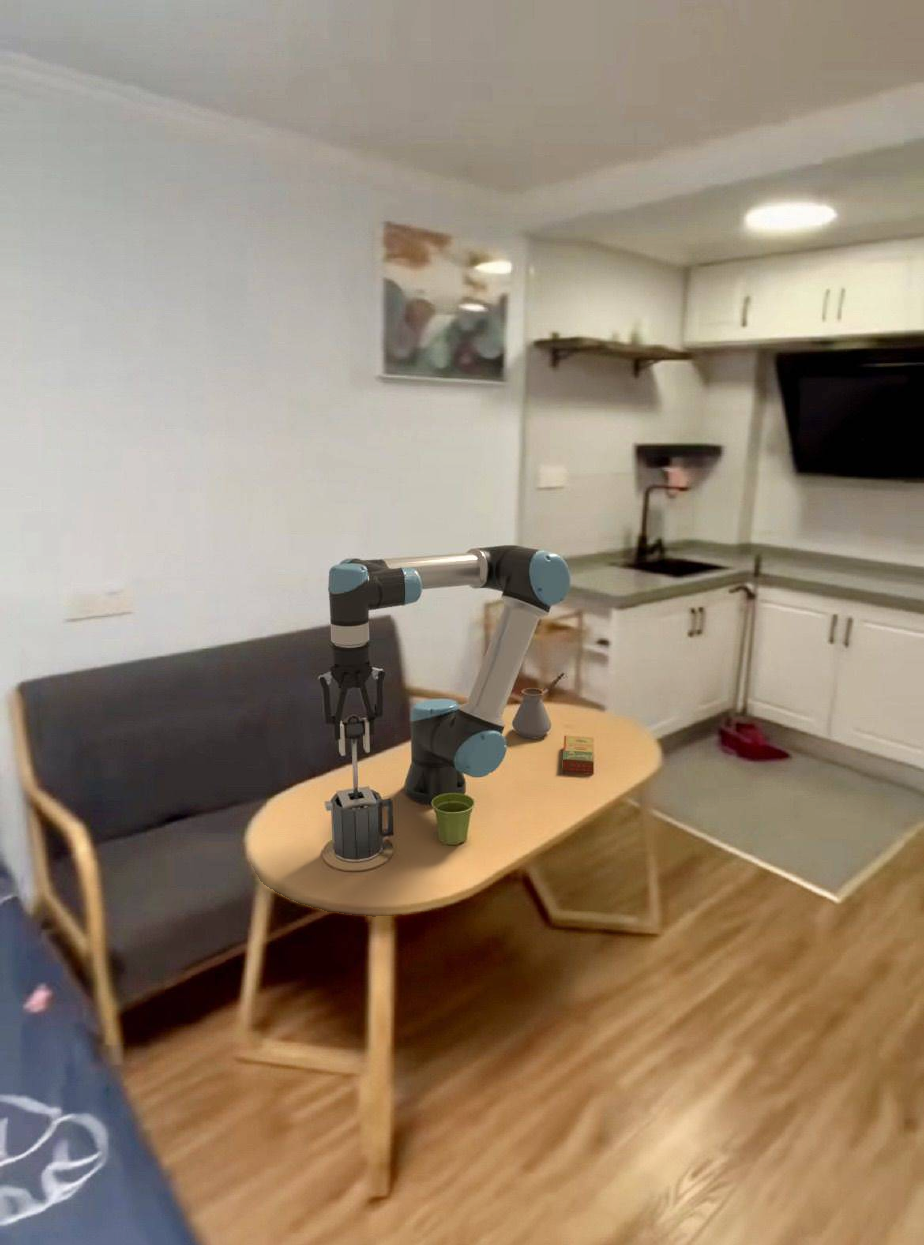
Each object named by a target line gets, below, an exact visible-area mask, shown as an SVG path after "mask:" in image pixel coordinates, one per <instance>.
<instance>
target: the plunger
mask: <svg viewBox="0 0 924 1245" xmlns="http://www.w3.org/2000/svg"><path fill="white" fill-rule="evenodd" d="M362 718H363V717H358V716H357V715H356V714H351V715H348V717H347V718H344V719H343V720H341V721H342V723H343V725H344V737H345V739H347V740H351V758H352V759H351V760H352V762H351V763H352V788H353V791H354V799H350V800H355V799H360V798H359V795H358V788H359V776H358V772H359V770H358V746H357V742H358V741H357V739H361V738H363V736H364V735H365V730H364V719H362ZM369 806H371V805H369ZM369 806H363V807H356V808H350V809H361V808H366V807H369ZM340 807H341V805H340Z"/></svg>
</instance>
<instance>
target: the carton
mask: <svg viewBox="0 0 924 1245" xmlns="http://www.w3.org/2000/svg"><path fill="white" fill-rule="evenodd" d="M594 742H595V740H594V737H591V736H583V735H582V736H580V735H564V736H563V751H562V760H561V762H562V764H561V772H562V773H568V774H582V775H584V774H585V775H594V771H595V767H594V764H595V755H594V749H595V748H594V746H595V744H594Z"/></svg>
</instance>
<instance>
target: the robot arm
mask: <svg viewBox="0 0 924 1245" xmlns="http://www.w3.org/2000/svg"><path fill="white" fill-rule="evenodd" d="M327 586H328V588H327V591H328V600H329V601H328V602H329V616H330V618H329V619H330V640H331V642H332V644H331V667H330V668H329V671H328V672H326V673H324V674H322V673H320V674H318V675H317V680H318V681H319V683H320V688H321V704H322V716H323V720H324V722H325V724H326V725H332V733H333V738H334V739H335V741H338V751H339V754H340V755H341V757H344V756H346V741H345V740H346V738H345V737H344V725H343V723H342V721H343V720H342V715H343V710H344V706H345V700H346V695H347V693H348V690H350V689H352V688H354V689H355V688H356V689H358V693H359V696H360V700H361V703H362V707H363V710H364V713H365V717H361V718H362V719H364V730H365V735H364V736H363V737H362V740H363V741H362V742H363V745H362V746H363V749H364V752H365V753H366V754H367V753H370V752H371V751H370V750H371V749H370V748H371V747H370V736H374V734H375V724H374V722H375V721H376V719H377V718H382V717H383V714H384V712H383V711H384V710H383V708H384V707H383V706H384V705H383V699H384V698H383V695H384V692H383V682H384V680H385V676H386V672H385V671H384V670H383V668H382V667H378V668H377V667H373V665H372V664H371V654H370V653H371V649H370V647H371V646H370V643H369V642H368V641H370V622H369V621H370V619H369V618H370V617H369V616H370V611H374V610H381V609H387V608H394V607H399V606H402V607H404V606H406V605H411V604H413V603H416V602H417V601H419V600H420V598H421V596H422V592H423V590H430V589H431V590H433V589H442V588H451V587H452V588H454V587H463V586H469V587H470V588H472V589H475V590H476V589H489V590H494V591H499V592H502V593H501V597H500V598H501V600H502V602H503V605H504V606H503V609H502V612H501V614H500V616H499V618H498V622H497V624H496V627H495V629H494V632H493V635H492V637H491V639H490V642H489V645H488V648H487V650H486V653H485V655H484V658H483V660H482V663H481V666H480V668H479V670H478V674H477V676H476V678H475V680H474V683H473V685H472V689H471V691H470V694H469V696H468V698H467V701H466V702H465V703H463V704H461V705H459V703H458V702H457V701H456V700H454V699H450V698H449V699H448V698H434V699H427V700H422V701H419V702H417V703H415V704H414V705H413V706H412V707H411V709H410V717H409V718H410V719H409V722H410V753H411V758H410V760H411V763H410V765H409V768H408V770H407V771H408V772H407V774H406V777H405V780H404V792H405V793H404V794H405V795H406V796H407V797H408V798H409V799H411V801H415V802H417V803H421V804H424V805H425V804H428V805H432V804H431V802H432V800H433V799H434V798H435V797H437V796H439V795H442V794H446V793H460V794H465V795H466V791H467V789H466V788H467V787H466V786H467V782H466V778H465V776H464V775H466V776H469V777H471V778H477V779H478V778H485V777H486V776H489V775H490V774H491V773H493V772H495V771H496V770H497V769H498V768H500V766H501V764H502V762H503V761H504V759H505V757H506V754H507V750H508V749H507V748H508V747H507V746H508V745H507V744H506V743H507V741H506V739H505V737H504V735H503V733H504V729H505V727H506V724H505V722H504V720H503V714H504V711H505V708H506V706H507V703H508V701H509V698H510V695H511V693H512V691H513V688H514V686H515V683H516V681H517V678H518V675H519V673H520V670H521V667H522V665H523V662H524V659H525V657H526V655H527V652H528V649H529V646H530V644H531V641H532V639H533V636H534V634H535V632H536V631H535V630H536V628H537V626H538V624H539V620H541V619H542V618H544V617H547V616H548V615H549V613H550V610H551V608H552V606H556V605H559V604H560V603H561V602H563V601H564V599H565V598H566V597H567V595H568V594H569V591H570V587H571V572H570V571H569V566H568V564H567V562H566V561H565V559H563V557H562V556H560V555H559V554H556V553H554V552H550V551H548V550H545V549H537V548H531V547H530V548H529V547H525V546H520V545H517V544H508V545H507V544H506V545H505V544H504V545H497V546H487V547H476V548H470V549H468V550H467V551H466V553H453V554H438V555H436V554H435V555H423V556H422V555H420V556H407V557H392V558H391V557H390V558H380V559H360V558H356V557H349V558H344V559H343V560H341V561H340V563H338V564H335V565H333V566H332V567H330V569H329V571H328V585H327ZM371 674H372V678H373V704H374V705H373V706H374V707H373V708H374V710H373V709H372V705H371V702H370V698H369V695H368V691H367V686H366V685H367V684H366V682H367V680H368V679H369V677H370V676H371ZM332 678H333V679H334V681H335V682H336V683H337V692H336V696H335V697H336V698H335V703H334V706H333V707H334V708H333V713H332V710H331V697H330V696H331V695H330V687H329V685H330V684H332V681H331V679H332Z"/></svg>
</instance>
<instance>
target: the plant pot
mask: <svg viewBox="0 0 924 1245" xmlns="http://www.w3.org/2000/svg"><path fill="white" fill-rule="evenodd" d="M430 805H431V807H432V808H433V812H434V814H435V819H436V825H437V830H438V832H437V833H438V838H439V841H441V842H443V843H444V844H447V845H449V846H450V845H453V846H455V845H459V844H460V843H461V844H462V843H465V841H467V839H468V834H469V833H468V832H469V827H470V822H471V821H470V818H471V813H472V812H473V808H475V800H474V798H472V797H471V796H470V795H467V794H466V793H465V794H460V793H446V794H442V795H439V796H437V797H435V798H434V799H433V800H432V802H431V804H430Z"/></svg>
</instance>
